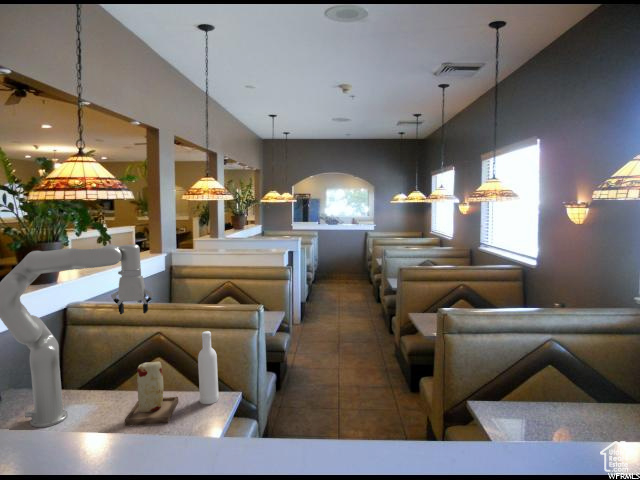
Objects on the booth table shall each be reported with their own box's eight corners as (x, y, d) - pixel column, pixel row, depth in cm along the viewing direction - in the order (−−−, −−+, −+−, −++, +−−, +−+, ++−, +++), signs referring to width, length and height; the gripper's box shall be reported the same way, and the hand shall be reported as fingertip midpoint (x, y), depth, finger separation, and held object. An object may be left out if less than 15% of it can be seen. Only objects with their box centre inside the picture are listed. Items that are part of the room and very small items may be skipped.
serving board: (125, 425, 169) (124, 419, 168) (139, 404, 186) (139, 398, 186) (167, 423, 170) (167, 417, 170) (178, 402, 188) (178, 396, 188)
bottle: (200, 397, 192) (197, 330, 190) (219, 395, 194) (216, 329, 191) (198, 405, 184) (195, 335, 182) (218, 403, 186) (215, 334, 183)
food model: (140, 416, 173) (137, 367, 171) (137, 410, 178) (134, 362, 177) (166, 410, 178) (163, 361, 176) (162, 403, 183) (160, 357, 182)
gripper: (106, 275, 182) (109, 316, 183) (149, 274, 184) (152, 314, 185) (113, 272, 189) (115, 311, 191) (154, 271, 191) (156, 310, 192)
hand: (133, 313), depth 188 cm, fingers open, 9 cm apart
